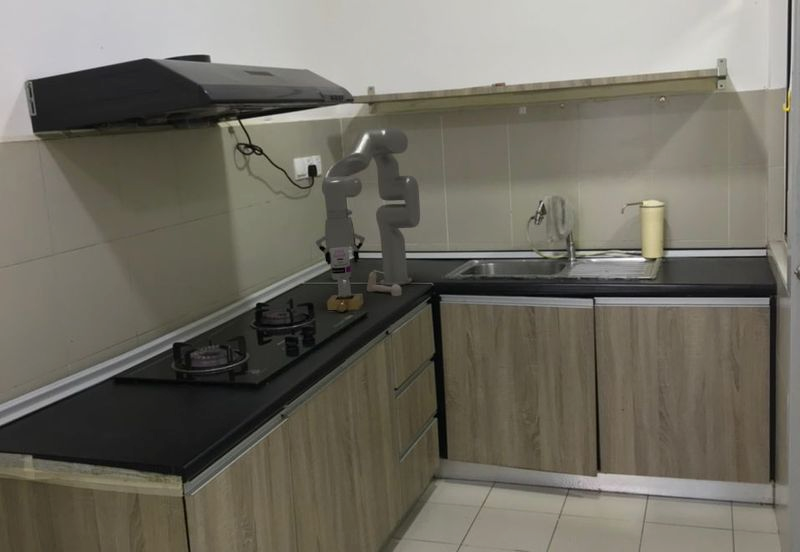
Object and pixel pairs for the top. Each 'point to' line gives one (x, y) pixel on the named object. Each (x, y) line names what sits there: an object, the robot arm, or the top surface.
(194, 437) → the top surface
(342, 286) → the pipe stub
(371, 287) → the faucet
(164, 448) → the top surface
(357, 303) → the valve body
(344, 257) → the supplement can
